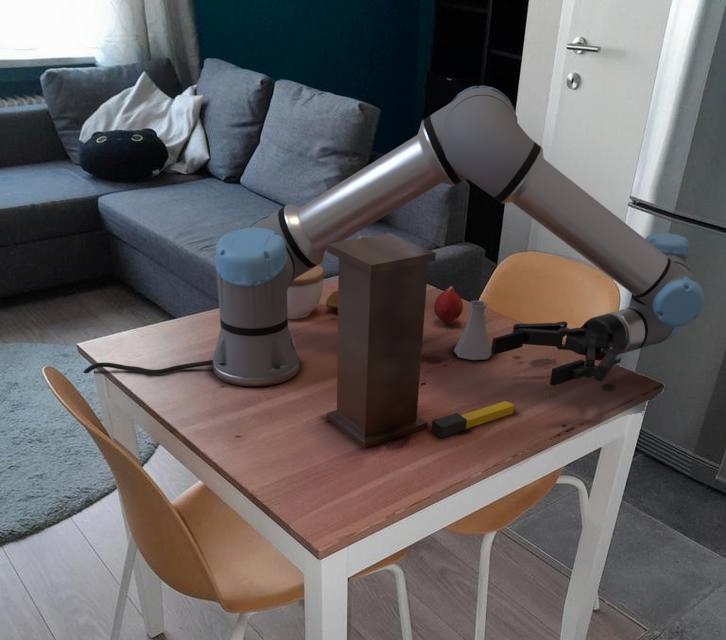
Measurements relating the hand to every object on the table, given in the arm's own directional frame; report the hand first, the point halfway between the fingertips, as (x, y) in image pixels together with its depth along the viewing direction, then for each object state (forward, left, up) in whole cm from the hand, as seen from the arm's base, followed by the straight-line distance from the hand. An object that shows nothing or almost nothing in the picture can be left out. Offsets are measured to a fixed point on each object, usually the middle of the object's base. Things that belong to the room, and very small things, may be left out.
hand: (521, 361), depth 128 cm
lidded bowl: (-44, +37, -9) cm, 58 cm away
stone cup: (-29, +42, -9) cm, 52 cm away
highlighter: (-7, -5, -9) cm, 12 cm away
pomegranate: (-12, +36, -9) cm, 39 cm away
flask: (-7, +22, -9) cm, 25 cm away
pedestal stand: (-23, -8, -9) cm, 25 cm away
